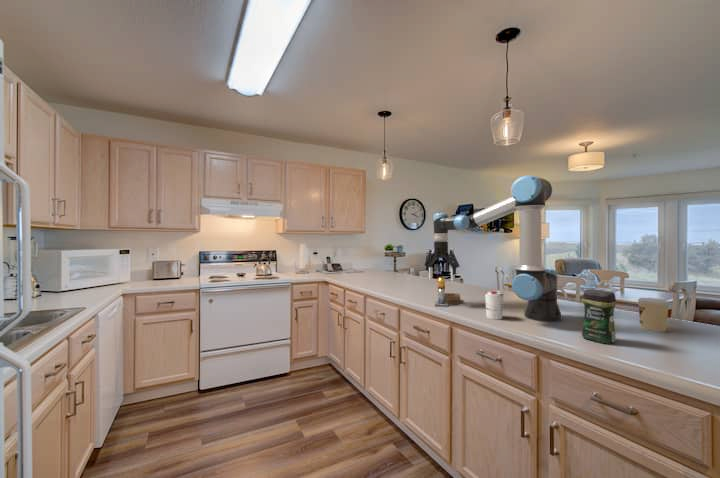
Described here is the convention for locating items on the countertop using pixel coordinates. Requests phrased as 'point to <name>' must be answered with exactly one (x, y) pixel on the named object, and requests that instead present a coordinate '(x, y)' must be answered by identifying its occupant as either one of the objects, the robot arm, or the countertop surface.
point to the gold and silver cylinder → (441, 290)
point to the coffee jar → (599, 316)
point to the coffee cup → (653, 314)
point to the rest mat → (441, 304)
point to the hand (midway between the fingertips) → (441, 279)
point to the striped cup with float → (494, 304)
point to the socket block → (452, 298)
